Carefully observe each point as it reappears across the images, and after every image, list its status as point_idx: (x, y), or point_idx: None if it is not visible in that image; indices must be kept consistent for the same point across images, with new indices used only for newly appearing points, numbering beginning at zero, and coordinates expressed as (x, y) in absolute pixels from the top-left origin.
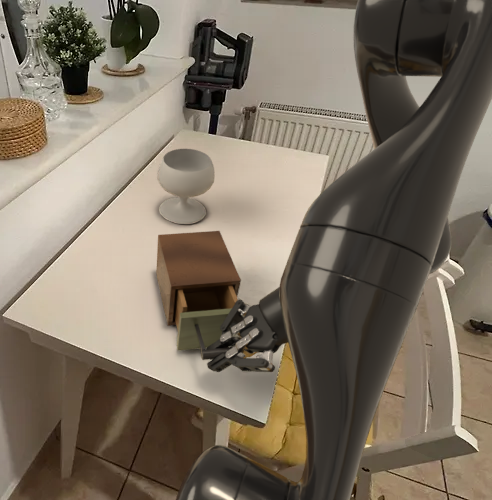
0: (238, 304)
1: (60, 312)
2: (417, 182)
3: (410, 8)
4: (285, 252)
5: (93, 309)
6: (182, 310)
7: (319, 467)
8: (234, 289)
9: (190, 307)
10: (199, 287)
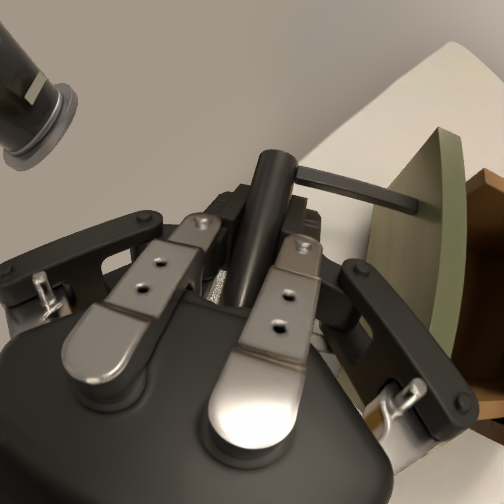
0: (453, 398)
1: (468, 79)
2: None
3: None
4: None
5: (480, 117)
6: (473, 176)
7: None
8: (497, 422)
9: (480, 292)
10: None
